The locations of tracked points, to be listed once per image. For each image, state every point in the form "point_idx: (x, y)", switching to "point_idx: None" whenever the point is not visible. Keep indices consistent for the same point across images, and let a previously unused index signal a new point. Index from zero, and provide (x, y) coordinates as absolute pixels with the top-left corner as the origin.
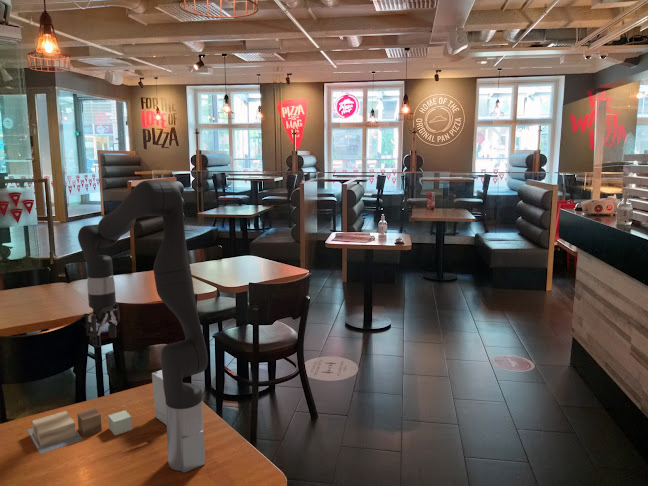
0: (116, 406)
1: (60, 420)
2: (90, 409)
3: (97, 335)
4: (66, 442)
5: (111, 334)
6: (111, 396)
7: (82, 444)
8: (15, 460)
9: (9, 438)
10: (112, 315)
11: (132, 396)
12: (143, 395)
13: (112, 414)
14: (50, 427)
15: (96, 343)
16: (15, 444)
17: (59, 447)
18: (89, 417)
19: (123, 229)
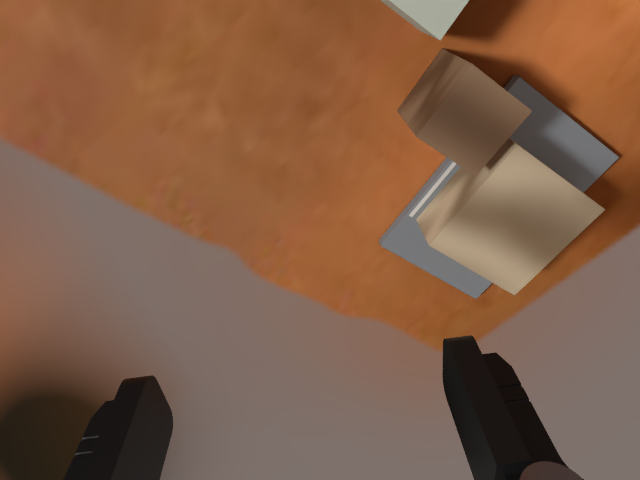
0: (231, 143)
1: (505, 210)
2: (434, 145)
3: (556, 474)
4: (544, 125)
5: (156, 431)
6: (172, 217)
7: (530, 66)
8: (629, 209)
9: (510, 309)
10: None
11: (128, 137)
12: (93, 93)
13: (426, 24)
14: (560, 206)
15: (520, 383)
16: (541, 272)
17: (577, 124)
18: (506, 96)
19: None
